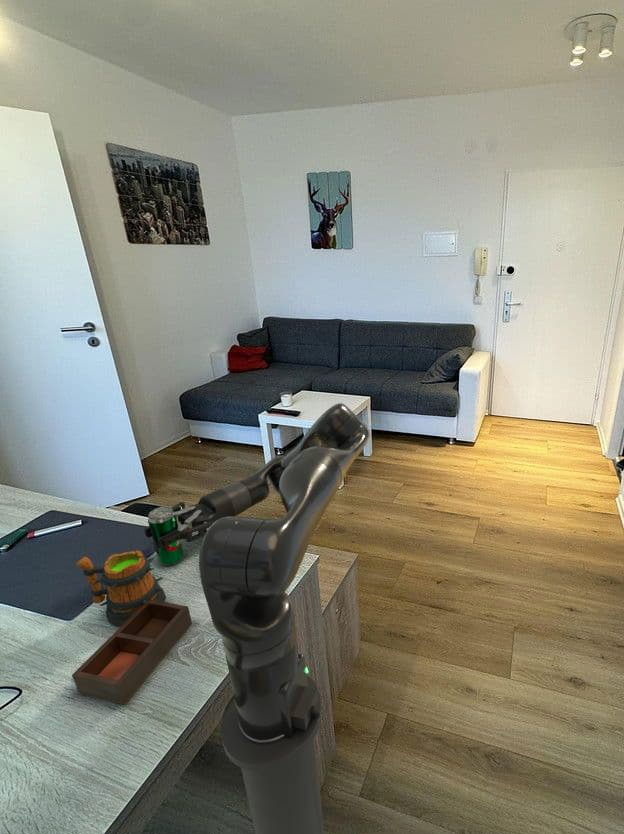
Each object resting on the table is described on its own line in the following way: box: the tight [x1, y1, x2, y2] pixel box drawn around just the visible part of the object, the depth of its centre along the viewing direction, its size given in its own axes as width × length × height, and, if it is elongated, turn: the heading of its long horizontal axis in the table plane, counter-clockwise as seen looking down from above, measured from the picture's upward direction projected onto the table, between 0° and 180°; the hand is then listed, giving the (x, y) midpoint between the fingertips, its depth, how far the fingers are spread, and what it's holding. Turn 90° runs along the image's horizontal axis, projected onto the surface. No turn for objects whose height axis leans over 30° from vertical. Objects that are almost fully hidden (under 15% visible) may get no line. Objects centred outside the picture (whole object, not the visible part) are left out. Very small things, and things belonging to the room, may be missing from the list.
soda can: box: [147, 506, 185, 566], centre depth 92 cm, size 5×5×12 cm
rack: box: [71, 599, 193, 706], centre depth 71 cm, size 8×15×4 cm, turn 169°
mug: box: [75, 549, 167, 628], centre depth 78 cm, size 13×10×12 cm
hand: (152, 538), depth 89 cm, fingers closed on soda can, 5 cm apart
